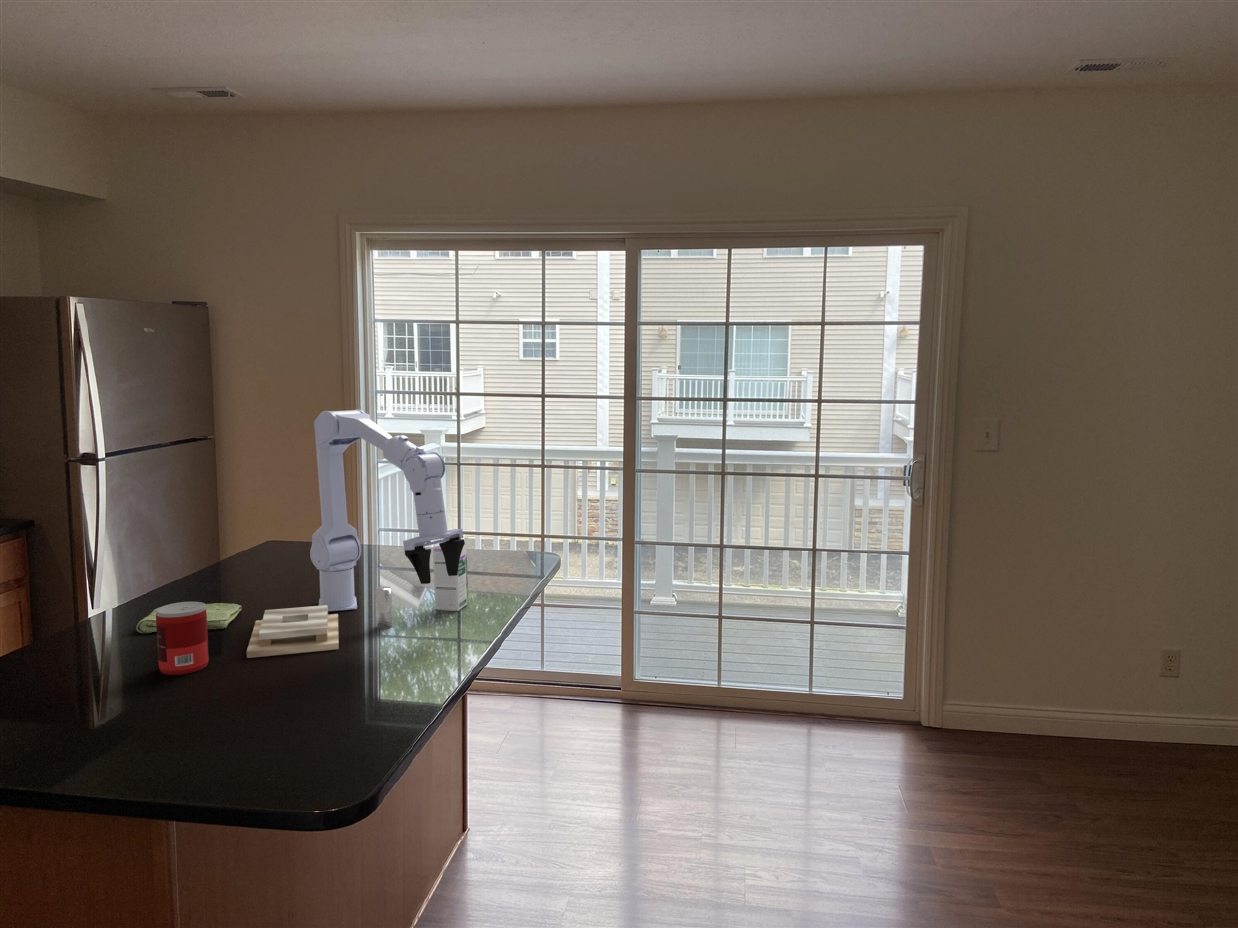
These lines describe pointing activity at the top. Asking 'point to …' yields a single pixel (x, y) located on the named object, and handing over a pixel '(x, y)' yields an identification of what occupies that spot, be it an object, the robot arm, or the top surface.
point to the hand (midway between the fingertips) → (439, 579)
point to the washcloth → (216, 617)
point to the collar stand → (294, 632)
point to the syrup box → (450, 582)
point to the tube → (383, 607)
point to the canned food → (182, 637)
